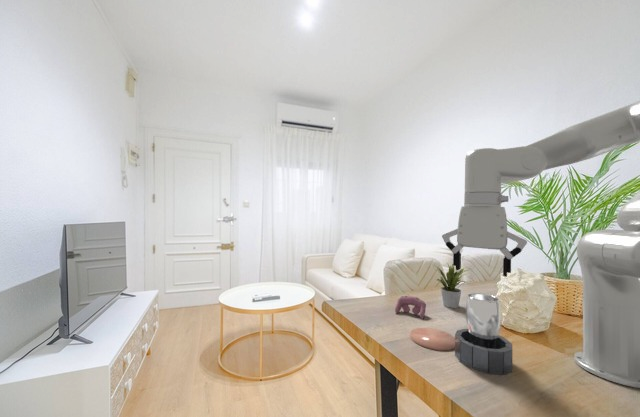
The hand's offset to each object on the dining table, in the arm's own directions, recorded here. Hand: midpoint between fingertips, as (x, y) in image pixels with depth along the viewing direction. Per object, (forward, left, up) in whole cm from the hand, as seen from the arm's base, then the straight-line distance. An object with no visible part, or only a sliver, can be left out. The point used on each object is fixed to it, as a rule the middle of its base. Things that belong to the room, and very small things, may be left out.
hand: (480, 272), depth 63 cm
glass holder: (0, 0, -21) cm, 21 cm away
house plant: (+12, -37, -21) cm, 44 cm away
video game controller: (+23, -20, -21) cm, 37 cm away
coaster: (+12, -4, -21) cm, 24 cm away
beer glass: (0, 0, -21) cm, 21 cm away
